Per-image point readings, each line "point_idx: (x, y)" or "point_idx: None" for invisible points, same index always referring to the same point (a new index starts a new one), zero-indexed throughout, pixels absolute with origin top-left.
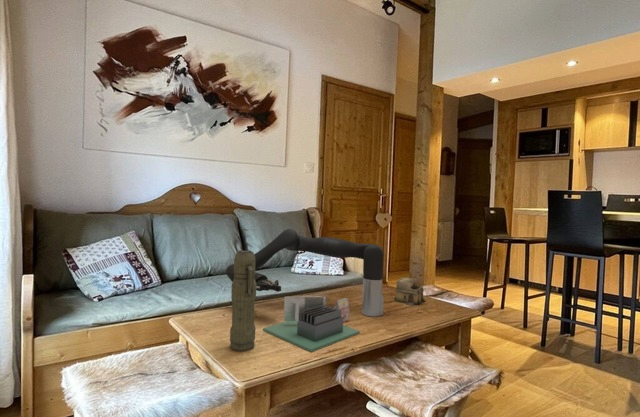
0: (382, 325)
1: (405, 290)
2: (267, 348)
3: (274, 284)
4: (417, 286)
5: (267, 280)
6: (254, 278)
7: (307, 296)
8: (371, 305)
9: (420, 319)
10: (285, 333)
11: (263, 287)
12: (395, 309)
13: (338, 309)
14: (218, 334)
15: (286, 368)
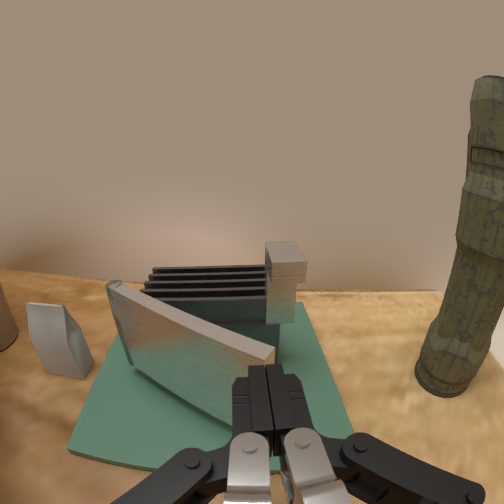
0: (65, 305)
1: None
2: (386, 350)
3: (266, 440)
4: None
5: None
6: (469, 166)
7: (159, 309)
8: (7, 306)
9: (17, 285)
10: (307, 384)
11: (388, 490)
12: None
13: (75, 328)
14: (501, 459)
15: (371, 291)
